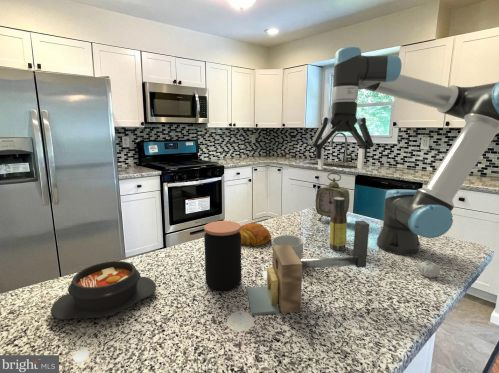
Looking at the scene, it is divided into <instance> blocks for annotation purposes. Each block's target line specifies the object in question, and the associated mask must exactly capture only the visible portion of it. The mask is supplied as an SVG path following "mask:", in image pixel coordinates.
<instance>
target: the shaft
mask: <svg viewBox="0 0 499 373" xmlns="http://www.w3.org/2000/svg"><path fill="white" fill-rule="evenodd" d="M369 233H370V223H368V222H367V221H365V220H355V222H354V234H353V235H354V236H353V246H352V247H353V250H352V256H342V257H341V256H339V257H321V258H320V257H319V258H301V259H300V261H301V263H302V270H304V269H317V268H319V269H320V268H337V267H353V266H354V267H356V268H366V267H367V258H368V247H369V246H368V245H369V235H370V234H369Z"/></svg>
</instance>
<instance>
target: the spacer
mask: <svg viewBox="0 0 499 373" xmlns="http://www.w3.org/2000/svg"><path fill="white" fill-rule="evenodd" d="M266 286H267V293H268V296H269V299H270V302H271V305H277V306H278V279H277V276H276V274H275V271H274V269H273V268H272V267H267V268H266Z"/></svg>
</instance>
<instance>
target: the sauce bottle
mask: <svg viewBox="0 0 499 373" xmlns="http://www.w3.org/2000/svg"><path fill="white" fill-rule="evenodd" d="M344 202H345V199H344V198H340V197H336V198H334V210H333V212H332V213H331V216H330V217H329V218H330V220H329V248H330V249H331V248H332V249H331V250H333V249H335V250H334V251H343V250H345V249H346V245H347V230H348V219H347V216H348V215H347V214H346V213H345V212H344Z"/></svg>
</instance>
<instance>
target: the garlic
mask: <svg viewBox="0 0 499 373" xmlns="http://www.w3.org/2000/svg"><path fill="white" fill-rule="evenodd" d="M417 268H418V269H417V270H418V272H419V273H420V274H421V275H422V276H424V277H426V278H437V277H438V276H439V275H440V273H441V267H440V266H439V265H438V264H436V263H435V262H433V261H430V260H425V261H423V262H420V263H419V264H418V265H417Z"/></svg>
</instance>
